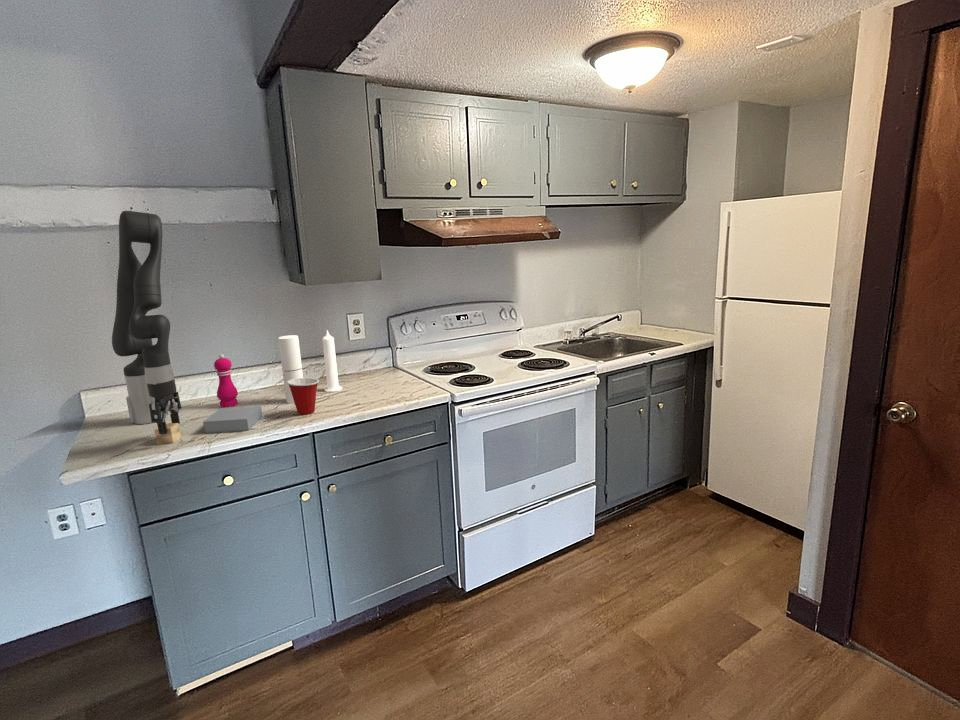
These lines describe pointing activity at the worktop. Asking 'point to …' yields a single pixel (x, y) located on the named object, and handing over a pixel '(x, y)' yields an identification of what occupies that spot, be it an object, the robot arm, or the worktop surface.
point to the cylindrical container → (290, 362)
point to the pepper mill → (225, 383)
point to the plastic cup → (304, 394)
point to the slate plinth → (233, 419)
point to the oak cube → (168, 434)
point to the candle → (330, 364)
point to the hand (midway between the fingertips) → (170, 429)
